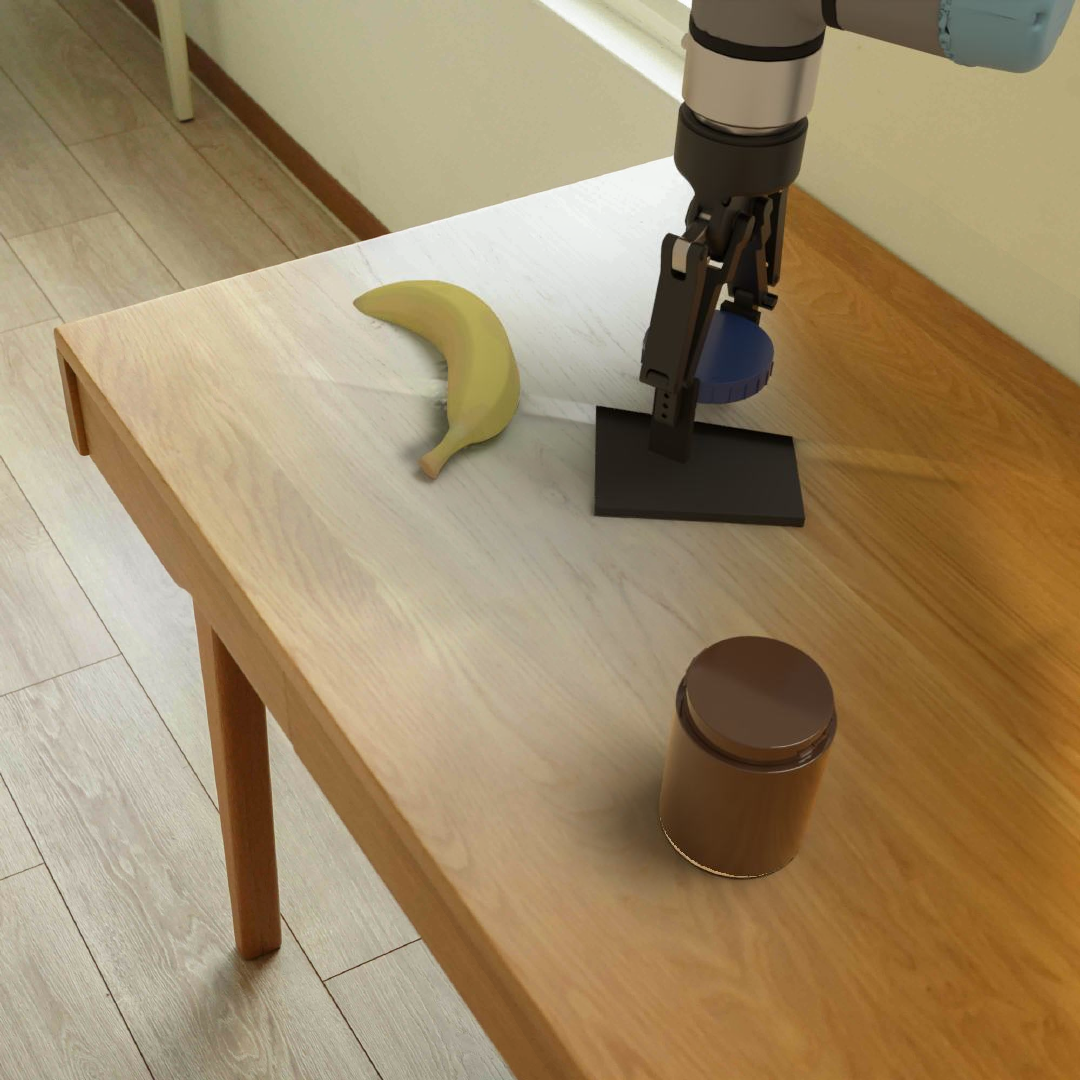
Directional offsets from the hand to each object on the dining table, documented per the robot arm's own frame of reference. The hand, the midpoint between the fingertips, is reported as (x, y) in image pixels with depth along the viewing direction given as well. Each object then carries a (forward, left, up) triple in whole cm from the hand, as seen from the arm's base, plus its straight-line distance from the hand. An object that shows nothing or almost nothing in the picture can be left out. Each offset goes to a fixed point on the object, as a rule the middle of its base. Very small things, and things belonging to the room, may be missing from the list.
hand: (699, 418), depth 93 cm
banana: (+20, -2, -3) cm, 20 cm away
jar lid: (0, 0, +6) cm, 6 cm away
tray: (0, 0, -3) cm, 3 cm away
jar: (-6, +30, -3) cm, 31 cm away
